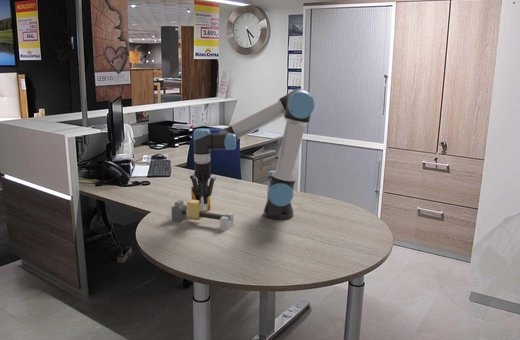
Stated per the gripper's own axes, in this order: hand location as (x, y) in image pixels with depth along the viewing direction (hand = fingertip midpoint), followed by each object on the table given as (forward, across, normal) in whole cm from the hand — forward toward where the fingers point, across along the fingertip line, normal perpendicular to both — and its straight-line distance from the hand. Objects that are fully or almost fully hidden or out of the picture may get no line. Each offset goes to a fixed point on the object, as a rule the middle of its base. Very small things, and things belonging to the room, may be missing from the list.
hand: (203, 209), depth 216 cm
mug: (+7, +10, -17) cm, 21 cm away
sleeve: (+5, +5, 0) cm, 7 cm away
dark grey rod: (+4, +1, 0) cm, 4 cm away
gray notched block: (+7, -12, 0) cm, 14 cm away
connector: (+7, +14, 0) cm, 15 cm away
